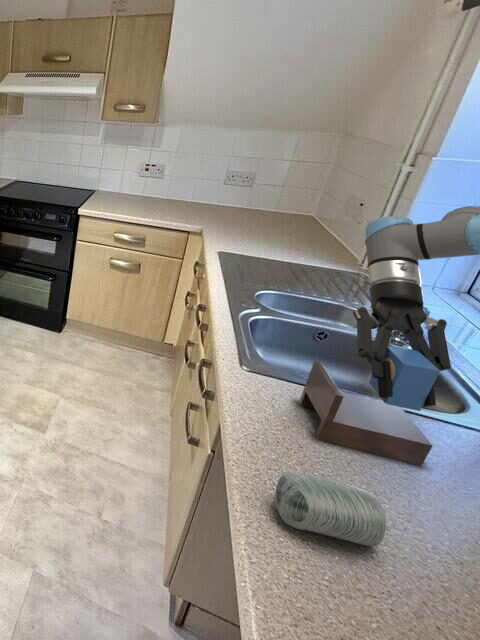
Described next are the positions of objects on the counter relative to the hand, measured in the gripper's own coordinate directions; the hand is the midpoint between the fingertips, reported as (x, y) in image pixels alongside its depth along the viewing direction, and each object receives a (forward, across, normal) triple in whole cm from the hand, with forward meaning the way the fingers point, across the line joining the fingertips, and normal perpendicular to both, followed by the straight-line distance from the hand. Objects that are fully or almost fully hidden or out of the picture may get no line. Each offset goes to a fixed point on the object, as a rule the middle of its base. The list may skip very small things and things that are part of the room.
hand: (406, 400), depth 76 cm
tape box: (-1, 0, +4) cm, 4 cm away
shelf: (+6, -3, +11) cm, 13 cm away
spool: (+26, -17, -9) cm, 32 cm away
